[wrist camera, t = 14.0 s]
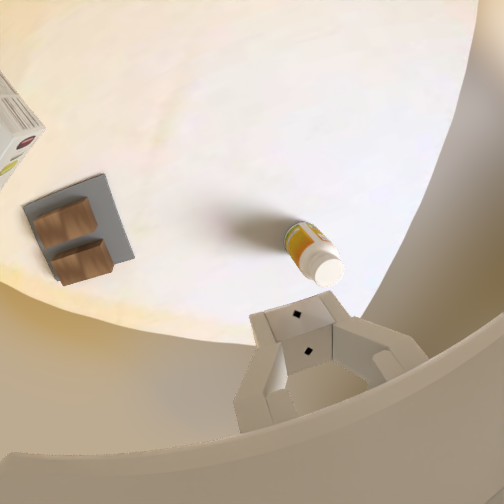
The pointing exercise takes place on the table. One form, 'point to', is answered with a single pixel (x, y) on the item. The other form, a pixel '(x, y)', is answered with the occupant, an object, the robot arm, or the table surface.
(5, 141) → the supplement box
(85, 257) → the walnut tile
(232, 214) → the table surface
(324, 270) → the supplement bottle
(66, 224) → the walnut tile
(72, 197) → the slate rubber mat
